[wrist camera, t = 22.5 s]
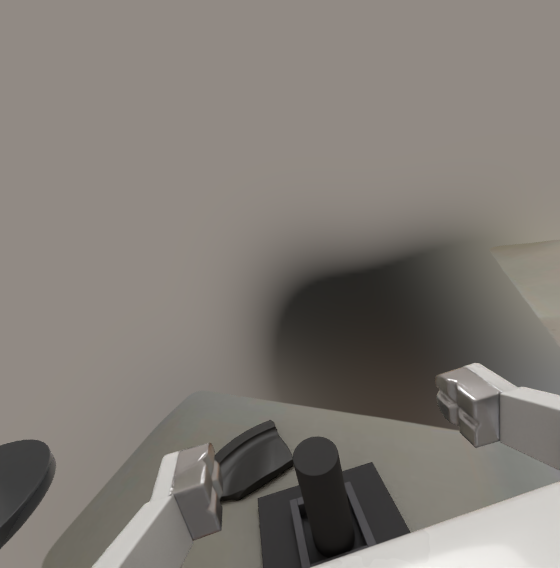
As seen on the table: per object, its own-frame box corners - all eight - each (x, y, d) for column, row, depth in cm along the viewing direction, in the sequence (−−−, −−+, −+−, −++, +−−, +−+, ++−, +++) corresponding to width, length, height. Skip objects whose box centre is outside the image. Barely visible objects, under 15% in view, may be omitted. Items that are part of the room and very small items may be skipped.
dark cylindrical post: (323, 568, 26) (301, 483, 23) (307, 523, 30) (287, 446, 27) (362, 547, 27) (346, 463, 24) (342, 506, 30) (326, 430, 28)
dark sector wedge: (184, 472, 40) (181, 463, 40) (273, 426, 45) (270, 418, 44) (192, 528, 33) (188, 517, 32) (297, 466, 37) (295, 456, 37)
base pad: (272, 657, 22) (265, 637, 21) (259, 504, 34) (254, 488, 33) (441, 595, 23) (439, 574, 23) (373, 468, 35) (370, 451, 34)
